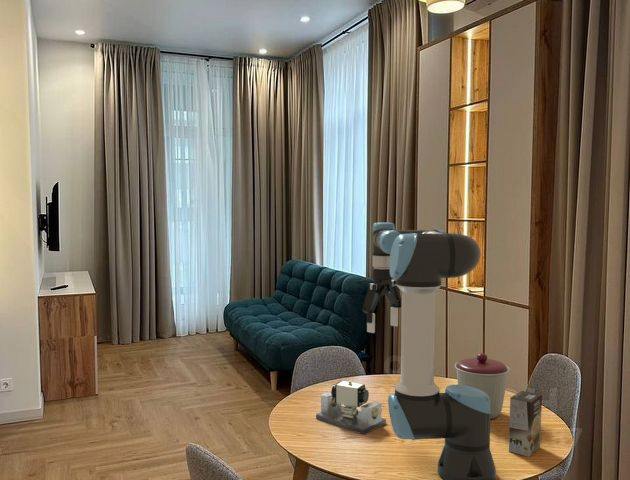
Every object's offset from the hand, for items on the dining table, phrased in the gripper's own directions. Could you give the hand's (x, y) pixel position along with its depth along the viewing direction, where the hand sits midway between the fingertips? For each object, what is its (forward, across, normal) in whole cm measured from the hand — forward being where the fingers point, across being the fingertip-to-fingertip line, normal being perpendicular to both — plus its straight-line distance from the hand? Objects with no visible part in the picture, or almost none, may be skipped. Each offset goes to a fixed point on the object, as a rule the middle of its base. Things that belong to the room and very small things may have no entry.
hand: (382, 329), depth 206 cm
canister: (+29, -20, +27) cm, 44 cm away
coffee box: (+29, -2, +50) cm, 58 cm away
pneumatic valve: (+27, +15, -2) cm, 31 cm away
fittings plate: (+29, +15, -2) cm, 32 cm away
